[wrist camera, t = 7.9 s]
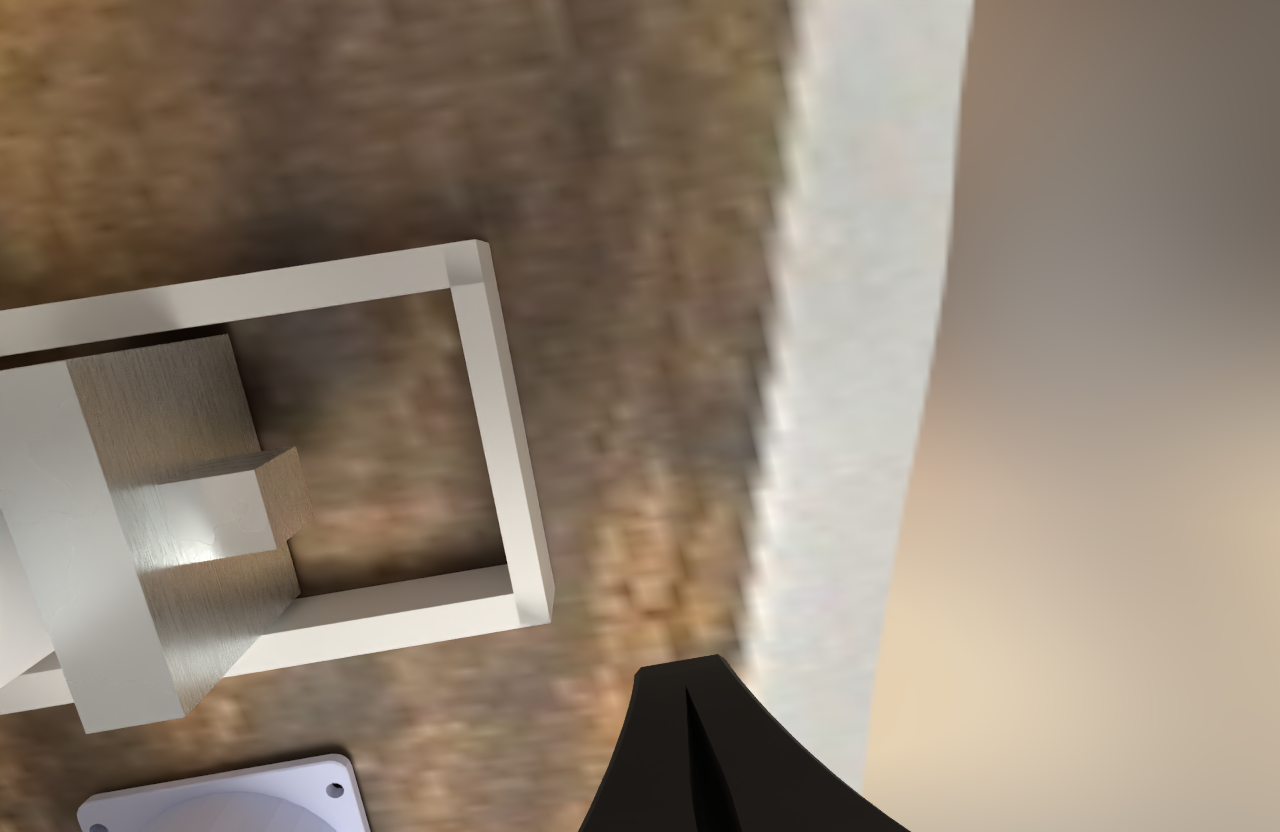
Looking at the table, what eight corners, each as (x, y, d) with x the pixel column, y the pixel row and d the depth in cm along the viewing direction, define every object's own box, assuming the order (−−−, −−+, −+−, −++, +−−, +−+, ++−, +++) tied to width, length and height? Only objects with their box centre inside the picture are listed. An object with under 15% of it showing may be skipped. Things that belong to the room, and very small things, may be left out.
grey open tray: (488, 242, 18) (435, 228, 12) (555, 588, 20) (537, 720, 14) (-251, 354, 17) (-691, 396, 11) (-101, 697, 19) (-403, 881, 13)
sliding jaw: (305, 321, 18) (176, 344, 12) (370, 580, 19) (283, 700, 14) (131, 348, 17) (-77, 382, 12) (212, 606, 19) (61, 738, 14)
